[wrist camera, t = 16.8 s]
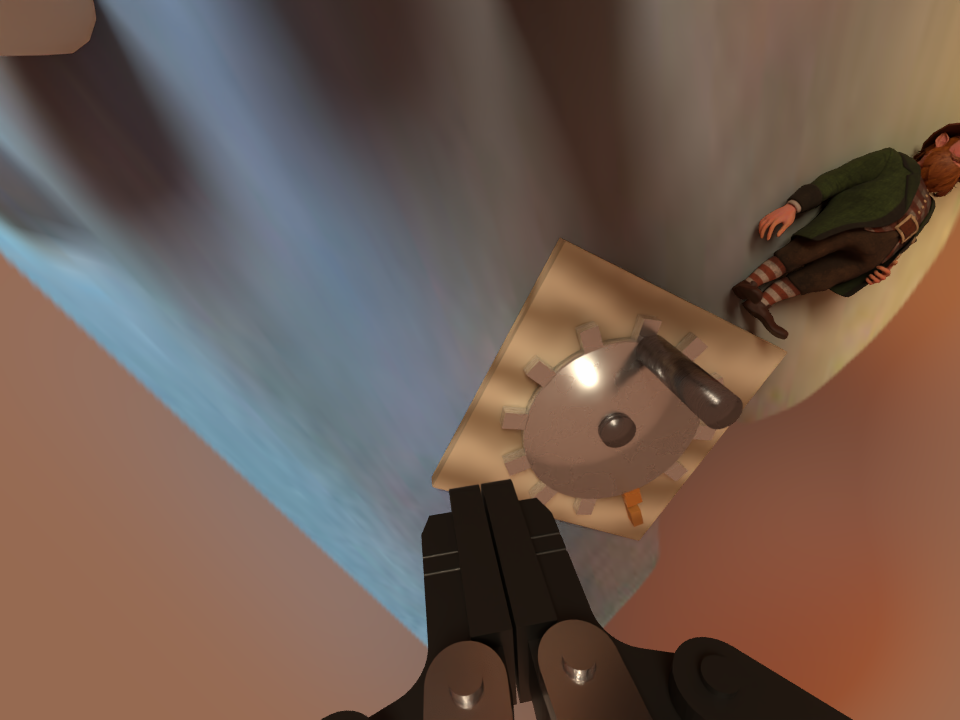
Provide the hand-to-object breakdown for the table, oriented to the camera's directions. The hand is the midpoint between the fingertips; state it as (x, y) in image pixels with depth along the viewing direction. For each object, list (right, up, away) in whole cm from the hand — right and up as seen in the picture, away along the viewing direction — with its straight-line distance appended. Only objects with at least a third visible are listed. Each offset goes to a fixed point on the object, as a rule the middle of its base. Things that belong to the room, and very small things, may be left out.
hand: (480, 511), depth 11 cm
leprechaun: (+34, +18, +33) cm, 50 cm away
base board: (+13, -2, +39) cm, 41 cm away
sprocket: (+14, -3, +37) cm, 40 cm away
